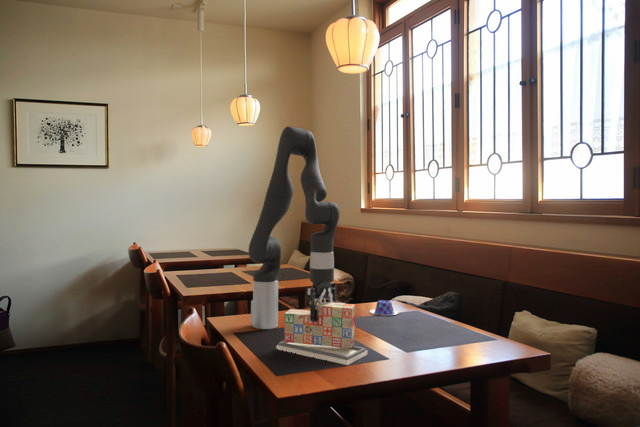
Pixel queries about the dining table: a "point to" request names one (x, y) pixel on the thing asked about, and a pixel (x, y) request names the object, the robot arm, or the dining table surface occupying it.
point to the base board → (325, 352)
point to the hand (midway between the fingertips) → (321, 318)
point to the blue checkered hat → (384, 308)
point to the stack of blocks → (322, 326)
